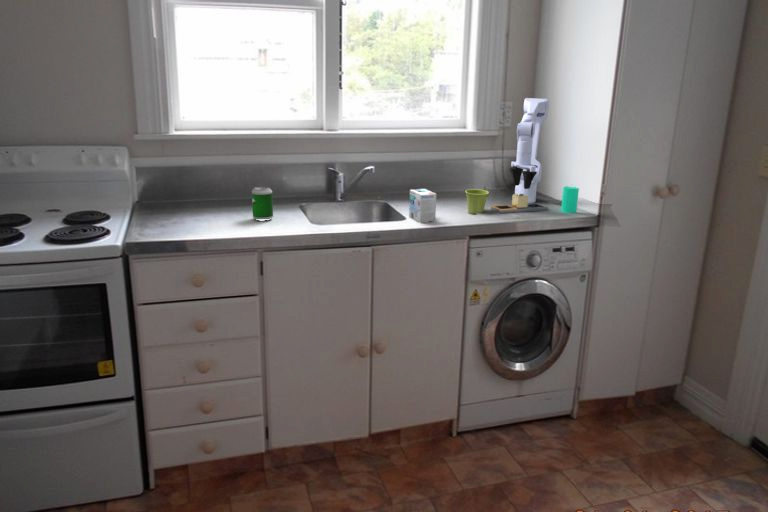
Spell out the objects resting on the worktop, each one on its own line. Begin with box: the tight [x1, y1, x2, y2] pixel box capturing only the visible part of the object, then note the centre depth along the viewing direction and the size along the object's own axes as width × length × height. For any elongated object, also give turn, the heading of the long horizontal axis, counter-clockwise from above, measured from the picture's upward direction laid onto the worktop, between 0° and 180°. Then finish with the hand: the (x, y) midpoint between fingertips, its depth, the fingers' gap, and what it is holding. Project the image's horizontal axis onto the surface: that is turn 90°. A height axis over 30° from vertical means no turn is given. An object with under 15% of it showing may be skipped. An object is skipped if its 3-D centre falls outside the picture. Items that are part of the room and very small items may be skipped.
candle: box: [560, 183, 580, 214], centre depth 264 cm, size 6×6×12 cm
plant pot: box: [464, 188, 490, 215], centre depth 263 cm, size 9×9×9 cm
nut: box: [511, 193, 529, 209], centre depth 266 cm, size 4×4×6 cm
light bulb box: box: [408, 188, 437, 223], centre depth 251 cm, size 11×7×11 cm, turn 22°
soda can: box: [251, 186, 274, 220], centre depth 246 cm, size 8×8×12 cm
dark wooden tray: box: [490, 203, 549, 214], centre depth 267 cm, size 7×22×2 cm, turn 109°
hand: (521, 187), depth 264 cm, fingers open, 7 cm apart
